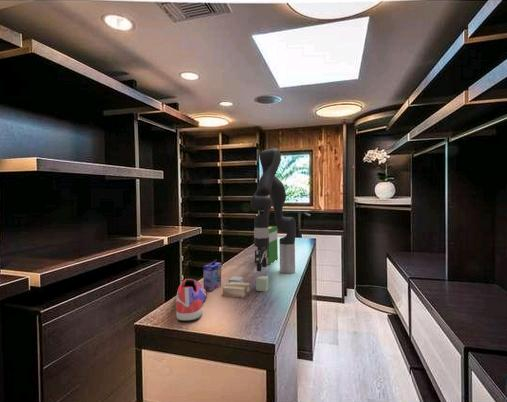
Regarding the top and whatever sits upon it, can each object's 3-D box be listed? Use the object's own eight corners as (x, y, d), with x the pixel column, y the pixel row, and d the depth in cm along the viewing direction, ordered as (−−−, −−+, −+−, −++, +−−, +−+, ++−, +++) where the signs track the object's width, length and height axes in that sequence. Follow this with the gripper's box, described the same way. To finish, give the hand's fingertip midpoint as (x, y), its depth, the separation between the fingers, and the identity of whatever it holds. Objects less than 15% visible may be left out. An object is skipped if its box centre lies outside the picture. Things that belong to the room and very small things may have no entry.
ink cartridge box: (212, 291, 141) (212, 262, 141) (202, 290, 143) (202, 261, 143) (222, 285, 150) (221, 258, 150) (212, 284, 152) (212, 257, 152)
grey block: (233, 283, 154) (233, 276, 154) (243, 284, 152) (243, 277, 152) (228, 287, 148) (228, 279, 148) (239, 288, 146) (239, 280, 146)
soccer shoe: (207, 290, 143) (207, 264, 143) (205, 323, 107) (204, 287, 107) (182, 292, 142) (181, 265, 141) (170, 325, 106) (170, 289, 105)
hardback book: (269, 265, 192) (269, 229, 191) (259, 264, 195) (258, 228, 194) (277, 259, 208) (277, 226, 208) (268, 258, 211) (267, 225, 210)
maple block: (231, 289, 145) (231, 281, 145) (249, 291, 142) (249, 283, 142) (222, 296, 136) (222, 287, 136) (242, 298, 132) (242, 289, 132)
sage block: (259, 287, 147) (259, 275, 146) (268, 288, 145) (268, 276, 145) (256, 290, 142) (256, 278, 142) (266, 291, 140) (265, 279, 140)
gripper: (258, 234, 151) (259, 265, 151) (249, 238, 137) (249, 272, 138) (272, 234, 148) (272, 266, 149) (264, 238, 135) (264, 273, 135)
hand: (261, 269), depth 143 cm, fingers open, 8 cm apart
